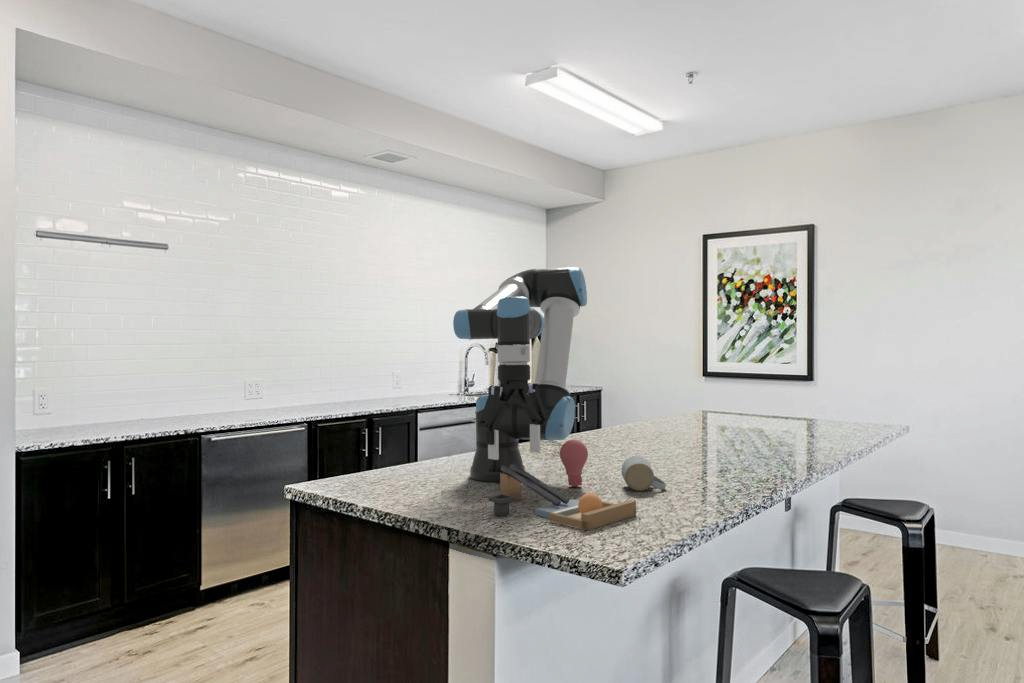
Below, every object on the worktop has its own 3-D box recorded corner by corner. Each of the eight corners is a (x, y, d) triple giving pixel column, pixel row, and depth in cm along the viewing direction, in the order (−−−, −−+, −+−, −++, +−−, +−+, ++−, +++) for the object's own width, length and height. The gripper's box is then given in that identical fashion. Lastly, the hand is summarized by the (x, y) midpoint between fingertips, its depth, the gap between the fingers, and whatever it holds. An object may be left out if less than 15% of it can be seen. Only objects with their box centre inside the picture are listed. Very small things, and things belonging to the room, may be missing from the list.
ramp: (500, 500, 157) (499, 465, 157) (513, 497, 160) (513, 462, 160) (556, 513, 144) (556, 474, 144) (570, 509, 147) (569, 472, 147)
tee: (488, 514, 144) (488, 497, 144) (502, 511, 146) (501, 494, 146) (501, 518, 141) (501, 500, 141) (515, 514, 144) (514, 496, 144)
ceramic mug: (624, 492, 164) (625, 460, 164) (621, 485, 173) (621, 455, 173) (668, 493, 164) (669, 461, 164) (663, 486, 172) (663, 456, 172)
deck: (535, 514, 144) (534, 508, 144) (571, 504, 152) (571, 499, 152) (556, 519, 139) (556, 513, 139) (592, 509, 148) (592, 503, 148)
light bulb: (555, 488, 170) (555, 440, 170) (566, 483, 176) (566, 437, 176) (582, 491, 166) (581, 442, 166) (592, 485, 172) (591, 438, 173)
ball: (574, 496, 138) (588, 516, 136) (595, 485, 140) (608, 505, 137) (572, 506, 142) (585, 526, 140) (592, 495, 144) (605, 515, 141)
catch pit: (549, 521, 138) (549, 506, 138) (598, 507, 149) (598, 494, 149) (587, 530, 131) (587, 515, 131) (636, 515, 142) (636, 501, 142)
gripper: (484, 365, 145) (485, 464, 145) (561, 362, 163) (562, 450, 162) (462, 365, 150) (463, 460, 150) (539, 362, 168) (539, 447, 168)
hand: (514, 455), depth 156 cm, fingers open, 13 cm apart
